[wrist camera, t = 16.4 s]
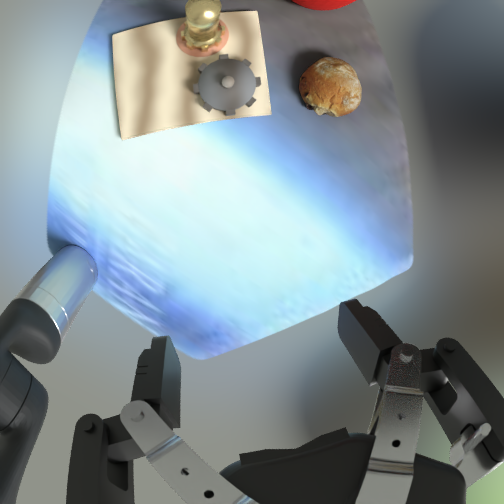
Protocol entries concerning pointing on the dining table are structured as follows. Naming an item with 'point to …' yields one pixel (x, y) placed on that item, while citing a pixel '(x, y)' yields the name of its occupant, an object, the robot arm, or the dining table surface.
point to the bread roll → (330, 87)
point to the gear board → (188, 76)
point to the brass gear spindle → (202, 25)
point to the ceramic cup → (323, 4)
